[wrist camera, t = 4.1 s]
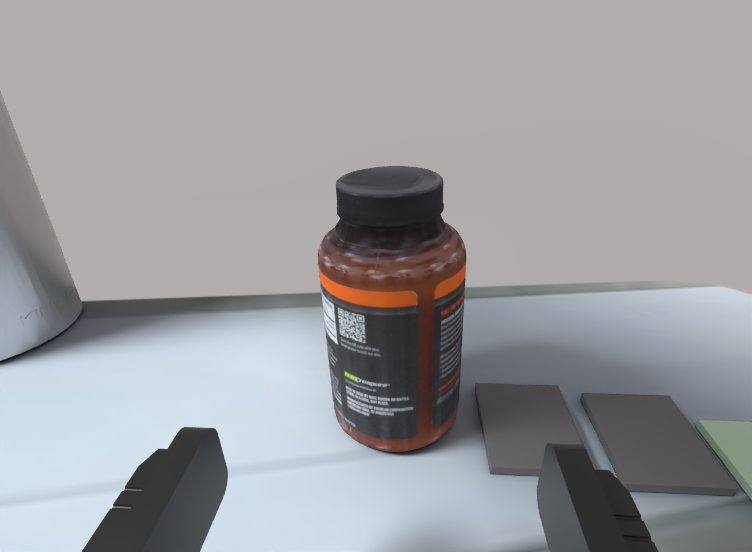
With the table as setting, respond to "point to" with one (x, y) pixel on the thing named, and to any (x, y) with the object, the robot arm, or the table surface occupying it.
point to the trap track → (616, 438)
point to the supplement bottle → (393, 308)
